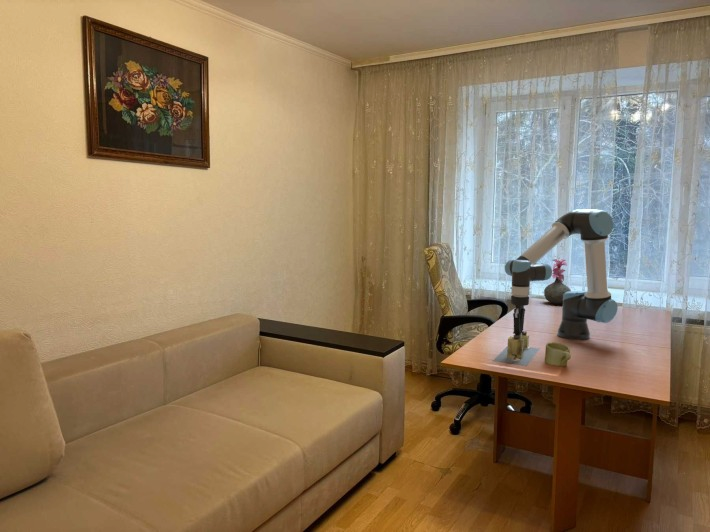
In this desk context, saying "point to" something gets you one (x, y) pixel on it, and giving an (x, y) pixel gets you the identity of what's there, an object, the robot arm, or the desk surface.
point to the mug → (557, 354)
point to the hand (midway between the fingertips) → (517, 347)
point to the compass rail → (526, 345)
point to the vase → (556, 285)
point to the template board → (523, 361)
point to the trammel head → (515, 346)
